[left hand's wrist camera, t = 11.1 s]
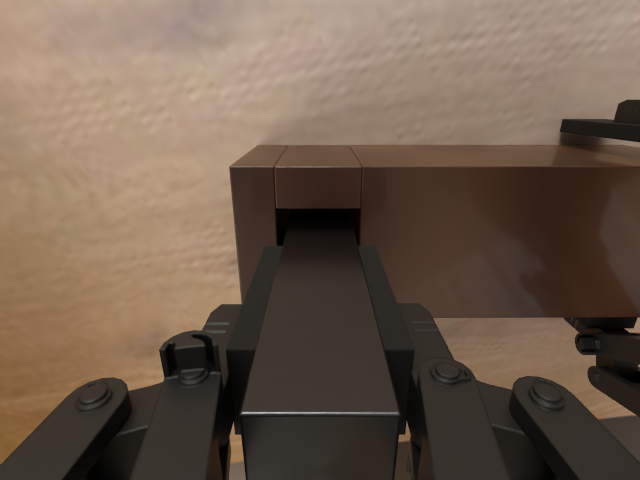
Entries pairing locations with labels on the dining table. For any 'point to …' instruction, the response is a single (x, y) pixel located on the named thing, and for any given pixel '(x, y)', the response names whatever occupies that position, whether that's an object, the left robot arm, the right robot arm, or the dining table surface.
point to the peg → (320, 367)
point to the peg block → (463, 221)
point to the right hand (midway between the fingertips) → (562, 204)
